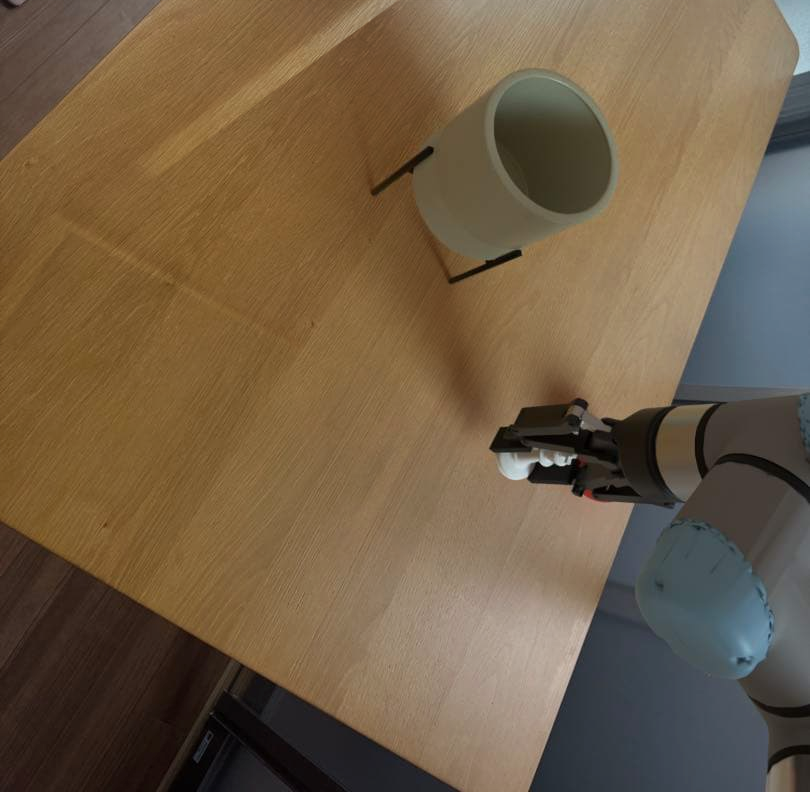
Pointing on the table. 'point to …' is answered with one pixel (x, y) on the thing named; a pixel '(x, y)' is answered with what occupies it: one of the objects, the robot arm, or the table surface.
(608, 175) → the planter
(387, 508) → the table surface
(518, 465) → the chess piece
